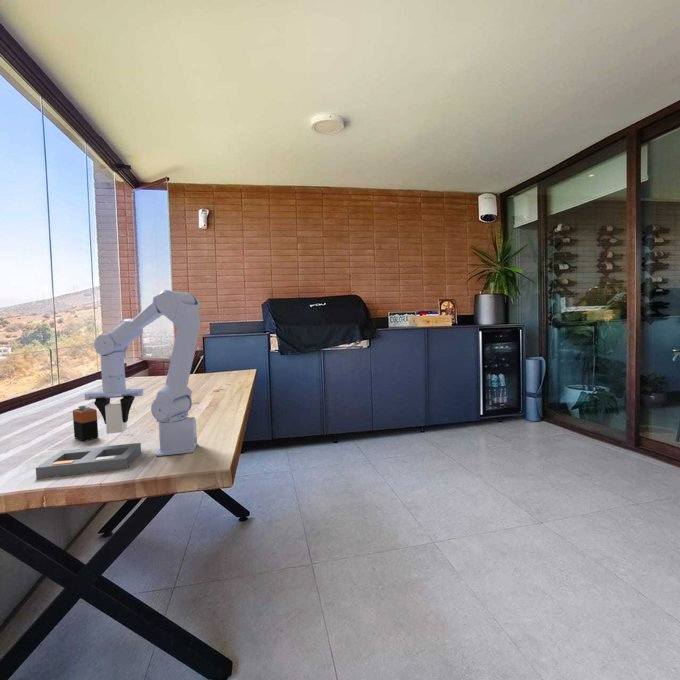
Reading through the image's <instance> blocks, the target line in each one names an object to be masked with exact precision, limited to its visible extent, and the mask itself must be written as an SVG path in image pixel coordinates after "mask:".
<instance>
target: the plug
mask: <svg viewBox="0 0 680 680" xmlns="http://www.w3.org/2000/svg"><path fill="white" fill-rule="evenodd" d="M105 413H106V424H105V425H106V434H107V435H108V434H109V435H110V434H116V433H117V434H118V433H124V432H125V431H126V430H127V429H128V423H127V422H128V421H127V422H125V423H123V419H122V407H121V402H120V401H118V402H110V403H109V404H107V405H106V406H105Z"/></svg>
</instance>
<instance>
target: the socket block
mask: <svg viewBox="0 0 680 680" xmlns="http://www.w3.org/2000/svg"><path fill="white" fill-rule="evenodd" d="M141 444H142V443H141V442H135V443H126V444H125V443H124V444H116V445H115V444H114V445H103V446H95V447H93V446H92V447H85V448H84V447H83V448H75V449H74V448H73V449H65V450H64V449H63V450H60V451H59V452H57V453H56V454H54V455H52V456H51V457H50V458H48V459H47V460H45V461H44V462H43V463H41V464H39V465H38V466H36V467H35V477H36V479H43V478H42V477H45V478H50V477H49V476H54V477H57V476H56V475H62V476H68V475H69V474H71V475H80V474H86V473H87V472H89V473H96V472H97V471H98V472H106V471H114V470H123V469H128V468H129V466H130V465H131V464H132V463H133V462H134V461H135V459H136V458H137V457H138V456H139V455H140V454H139V453H142V445H141ZM138 454H139V455H138ZM133 460H134V461H133ZM127 467H128V468H127ZM79 473H80V474H79ZM87 474H88V473H87ZM69 476H70V475H69Z"/></svg>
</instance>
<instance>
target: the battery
mask: <svg viewBox="0 0 680 680" xmlns="http://www.w3.org/2000/svg"><path fill="white" fill-rule="evenodd" d="M97 411H98V410H97V409H95V408H93V407H88V406H87V405H80V406H79V405H78V408H76V409H73V410H72V418H73V419H72V420H73V436H74V439H77V440H80V441H83V442H86V440H87V441H90V440H93V439H97V438H99V428H98V427H99V426H98V412H97Z"/></svg>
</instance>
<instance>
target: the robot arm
mask: <svg viewBox="0 0 680 680" xmlns="http://www.w3.org/2000/svg"><path fill="white" fill-rule="evenodd" d="M200 308H201V302H200V301H199V300H198V298H197V297H196V296H195V294H194V293H191V292H187V291H186V292H184V291H183V292H182V291H173V290H168V289H164V290H161V291H160V292H159V293H158V294H156V295H154V296H153V298H152V301H151V302H150V303H149V304H148V305H147V306H146V307H145V308H144V309H142V311H141V312H139V313H138V314H137V315H136V316H135V317H134V318H133V319H132V318H126V319H122V320H121V321H120V324H118V325H117V326H116V327H115V328H113V329H110V330H109V332H108V333H106V334H105V333H102V334H99V335H98V336H97V337H96V338H95V340H94V349H95V352H96V353H97V354H98V355H99V356H100V357H99V358H100V372H101V386H102V390H101V391H100V390H99V391H90V392H86V393H84V401H91V400H95V401H94V403H93V404H94V405H95V407H96V408H97V409H98V410H99V413H100V414H101V416H102V419H103V422H104V425H106V413H105V406H106V405H107V404H109V403H111V399H115V398H117V399H118V398H120V399H119V402H121V407H122V419H123V423H125V422H128V421H129V416H130V415H129V414H130V410H131V408H132V405H133V403H134V401H135V397H143V396H144V388H127V385H126V373H125V372H126V371H125V367H126V366H125V358H126V352H127V351H128V348H129V345H130V344H131V343H133V342H134V341H135V340H137V339H138V338H139V337H140V336H142V335H143V333H144V328H145V327H146V328H147V326H149V325H150V324H152V323H153V322H155V321H157V320H158V319H159V318H161V317H162V316H164V317H166V318H167V319H168V320H169V321H171V322H172V324H174V326H175V327H176V328H177V330H176V333H175V334H176V335H175V340H174V343H173V348H172V353H171V357H170V362H169V367H168V371H167V375H166V380H165V384H164V385H163V386H162V387H161V388H160V389H159V390H158V391H157V393H156V397H155V399H154V400H153V401H152V403H151V406H150V411H151V415H152V417H153V418H154V419H155V420H156V422H157V423H158V435H159V436H158V438H159V450H158V451H156V453H155V456H156V457H160V456H161V457H162V456H170V455H181V454H190V453H193V452H195V449H196V447H197V445H198V437H197V435H198V433H197V420H196V418H195V417H194V416H191V417H189V412H190V410H191V408H192V407H193V401H192V393H193V391H192V390H191V388H190V387H189V386H188V384H189V379H190V375H191V371H192V366H193V362H194V358H195V353H196V348H197V344H198V339H199V336H200V331H201V326H202V325H201V324H202V323H201V318H200V312H199V311H200Z"/></svg>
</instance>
